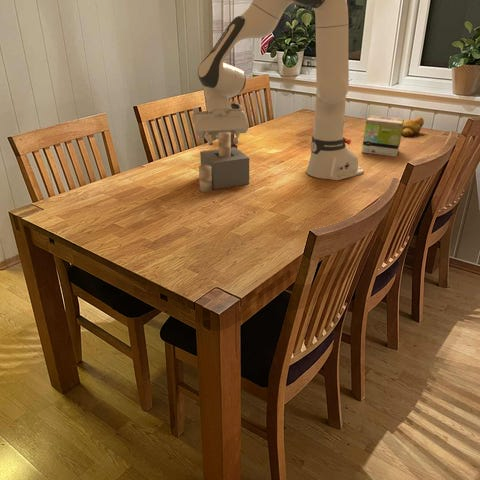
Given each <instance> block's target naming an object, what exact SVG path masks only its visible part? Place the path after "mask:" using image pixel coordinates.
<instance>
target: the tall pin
mask: <svg viewBox="0 0 480 480" xmlns="http://www.w3.org/2000/svg"><path fill="white" fill-rule="evenodd" d="M217 137H218V149H219V158H224V157H231V133H230V132H219V133H218V136H217Z"/></svg>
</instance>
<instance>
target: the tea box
mask: <svg viewBox="0 0 480 480" xmlns="http://www.w3.org/2000/svg"><path fill="white" fill-rule="evenodd" d="M404 121H405V118H401V117H391V116H382V115H371V114H369V116H368V117H367V119H366V122H365V127H364V132H363V133H364V135H363V141H362V148H361V153H362V154H363V153H364V154H365V153H366V154H372V155H373V154H374V155H379V156H388V157H393V158H394V157H397V154H398V152H399V149H400V144H401V140H402V139H401V137H402V135H403V134H402V129H403V123H404Z"/></svg>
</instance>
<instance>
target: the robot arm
mask: <svg viewBox="0 0 480 480" xmlns="http://www.w3.org/2000/svg"><path fill="white" fill-rule="evenodd" d="M347 1H348V0H252V2H251V4H250V5H249V6H248V8H247V9H246V10H245V11H244V12H243V13H242V14H240V15H238V16H236V17H234V19H232V20H231V22H230V23H229V25H228V26H227V27H226V29H225V30H224V31H223V32H222V35H221V36H220V37H219V39H218V40H217V42H216V43H215V45H214V47H213V48H212V50H211V51H210V52H209V54H208V55H207V56H206V57H205V58H204V59H203V60H202V62H201V63H200V64H199V67H198V68H197V77H198V79H199V82H200V84H201V85H202V86H203V88H204V89H203V91H204V97H205V100H206V102H205V105H206V107H205V108H206V110H204V111H203V110H202V111H195V112H193V113H192V114H191V120H192V123H194V124H193V129H194V130H193V132H194V134H195V136H197V137H199V136H201V137H202V136H204V139H205V140H206V141H207V143H208V146H213V144H214V141H213V138H210V136H217V135H218V133H219V132H230V133H231V134H234V139H233V142H234V144H235V145H237V144H238V143H239V138H240V134H246V133H247V132H248V130H249V122H248V121H249V120H248V118H247V115H246V112H244V111H243V105H242V104H239V103H236V102H232V101H230V99H232V98H234V97H236V96H237V95H239V94H240V93H242V92H243V90H244V89H245V87H246V84H247V83H246V82H247V77H246V74H245V71H244V70H243V69H241V68H239V67H236V66H234V65H231V64H229V63H226V62H225V60H226V58H227V57H228V56H229V54H230V53H231V51H232V50H233V49H234V47H235V46H236V44H237V43H238V42H240V41H242V40H246V39H261V38H265V37H268V36H270V35H271V34H272V33H273V32H274V30H275V29H276V27H277V26H278V24H279V22H280V20H281V18H282V16H283V14H284V13H285V10H286V9H287V8H288V7H289V6H290V5H291V4H292V5H293V4H295V5H296V4H297V5H298V6H301V7H308V8H312V9H313V11H314V16H315V17H314V18H315V65H316V68H315V70H316V71H315V73H316V76H315V78H316V81H315V82H316V83H315V84H316V93H315V106H314V107H315V108H314V119H313V131H312V132H313V133H312V136H311V140H310V151H311V152H310V158H309V162H308V165H307V167H306V170H305V171H306V174H308V175H309V176H311V177H314V178H317V179H324V180H326V179H327V180H332V181H340V180H343V179H344V180H345V179H348V178H351V177H355V176H359V175H362V174H364V169H363V167H361V166H360V165H359V158H358V156H357V155H356V154H355V153H354V152H352V151H351V150H350V149H349V148H348V147H347V146H346V145H348V146H349V145H350V144H352V139H350V138H347V137H346V138H345V137H343V134H344V128H345V127H344V126H345V119H346V118H345V116H346V115H345V114H346V104H347V103H346V101H347V95H348V93H349V88H350V87H349V86H350V84H349V83H350V82H349V81H350V80H349V78H350V73H349V72H350V71H349V69H350V68H349V62H350V61H349V9H348V2H347Z"/></svg>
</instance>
